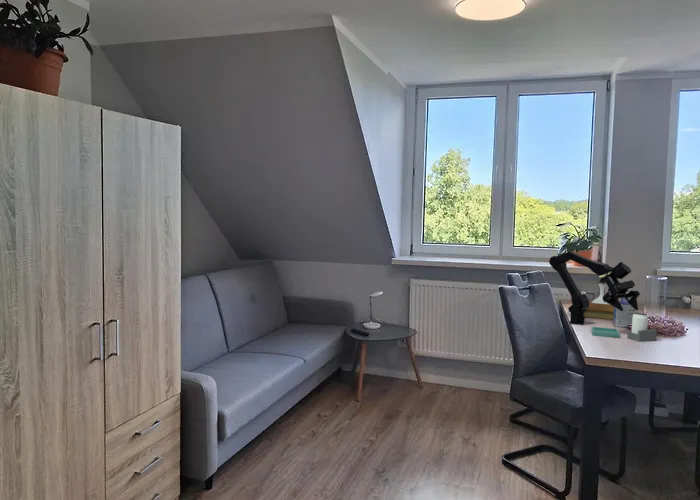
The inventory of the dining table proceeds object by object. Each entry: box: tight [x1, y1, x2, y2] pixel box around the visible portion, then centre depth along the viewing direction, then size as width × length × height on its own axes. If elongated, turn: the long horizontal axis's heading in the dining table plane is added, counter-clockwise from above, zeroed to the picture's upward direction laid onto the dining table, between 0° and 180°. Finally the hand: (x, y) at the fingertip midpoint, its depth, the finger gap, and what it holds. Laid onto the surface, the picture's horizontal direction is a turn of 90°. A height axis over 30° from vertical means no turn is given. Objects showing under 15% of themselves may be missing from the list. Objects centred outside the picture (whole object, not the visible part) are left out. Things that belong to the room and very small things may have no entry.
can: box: [631, 311, 649, 334], centre depth 256 cm, size 6×6×12 cm
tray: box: [591, 326, 620, 339], centre depth 263 cm, size 12×12×2 cm
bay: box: [626, 329, 657, 343], centre depth 255 cm, size 7×10×5 cm
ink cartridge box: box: [612, 298, 637, 328], centre depth 282 cm, size 10×6×14 cm, turn 78°
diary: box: [584, 302, 614, 321], centre depth 310 cm, size 23×19×6 cm
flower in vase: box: [591, 272, 612, 304], centre depth 339 cm, size 13×11×25 cm
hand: (630, 310), depth 261 cm, fingers open, 9 cm apart
